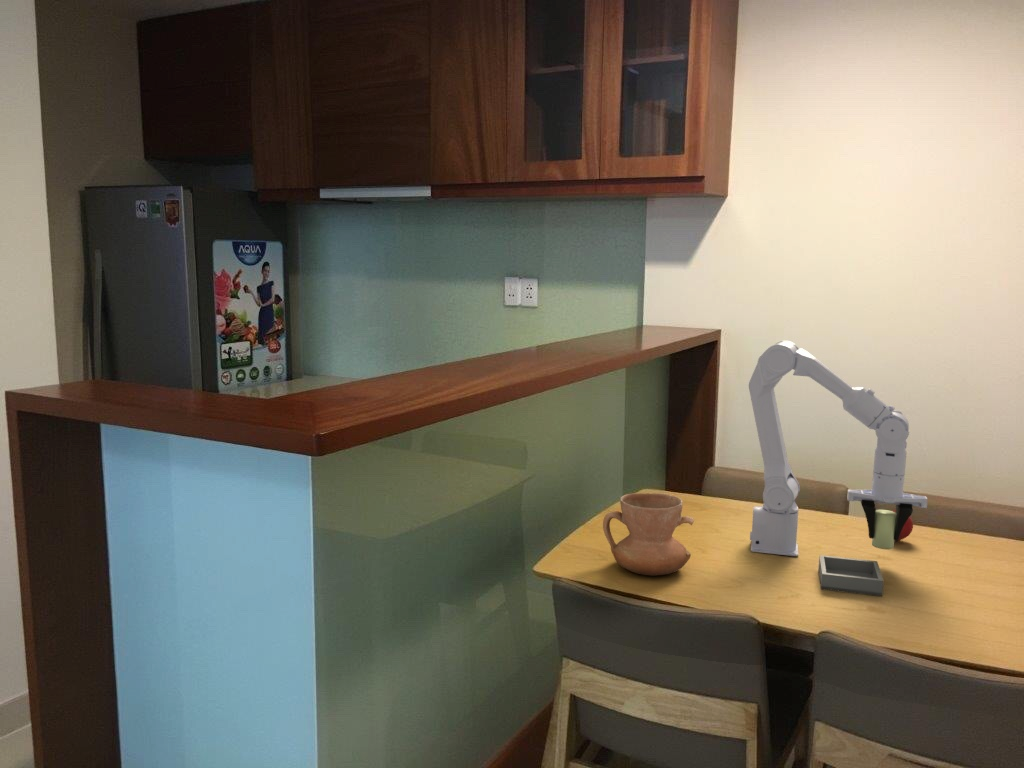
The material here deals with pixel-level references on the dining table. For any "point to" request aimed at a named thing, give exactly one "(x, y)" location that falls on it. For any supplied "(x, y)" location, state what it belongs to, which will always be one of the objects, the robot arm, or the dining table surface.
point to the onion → (906, 528)
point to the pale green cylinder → (884, 529)
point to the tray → (850, 575)
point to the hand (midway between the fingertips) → (883, 538)
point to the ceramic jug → (649, 533)
